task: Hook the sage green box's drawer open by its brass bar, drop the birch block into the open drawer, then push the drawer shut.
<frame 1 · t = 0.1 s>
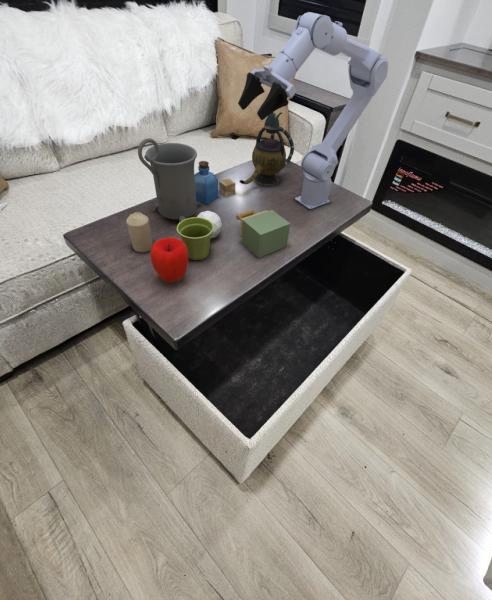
hand: (249, 111, 80), 32 cm above the table, tool tilted 50°, fingers open, 7 cm apart
apple: (173, 278, 85), on the table
teapot: (261, 183, 123), on the table
mug: (176, 216, 105), on the table
candle: (143, 246, 93), on the table
plant pot: (197, 254, 93), on the table
block: (227, 192, 116), on the table
perfume bottle: (205, 198, 113), on the table
drawer: (256, 225, 97), point 4 cm above the table, slide at 0.5 cm
geometric ball: (208, 236, 99), on the table
sage green box: (264, 244, 97), on the table
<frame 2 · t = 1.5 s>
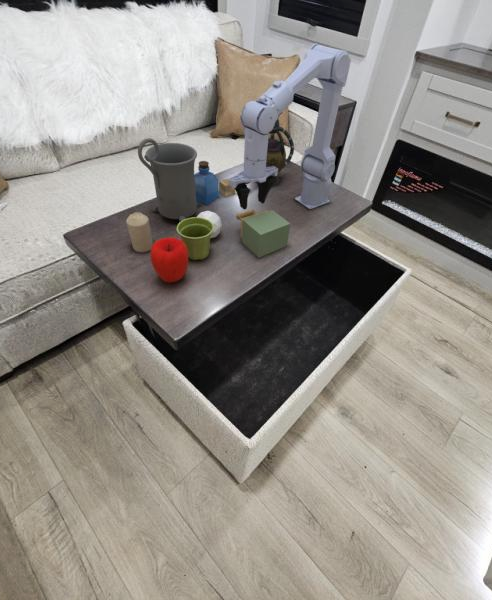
hand: (252, 204, 94), 9 cm above the table, tool pointing down, fingers open, 6 cm apart
nothing on the table moved.
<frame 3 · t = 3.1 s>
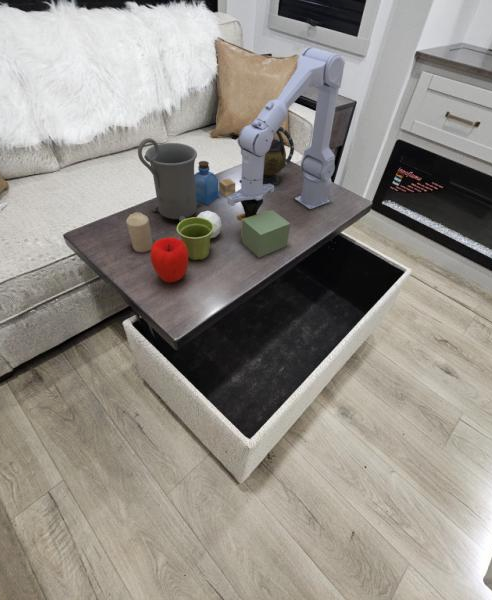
hand: (249, 220, 98), 4 cm above the table, tool pointing down, fingers closed, pressing on drawer
drawer: (256, 226, 97), point 4 cm above the table, slide at 0.2 cm, touching gripper
everything else where it was.
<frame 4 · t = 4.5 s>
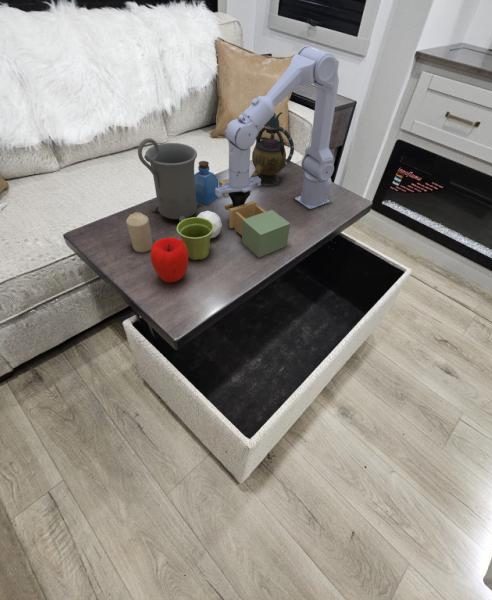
hand: (237, 211, 102), 3 cm above the table, tool pointing down, fingers closed, pressing on drawer
drawer: (244, 215, 100), point 4 cm above the table, slide at 6.5 cm, touching gripper
everything else where it was.
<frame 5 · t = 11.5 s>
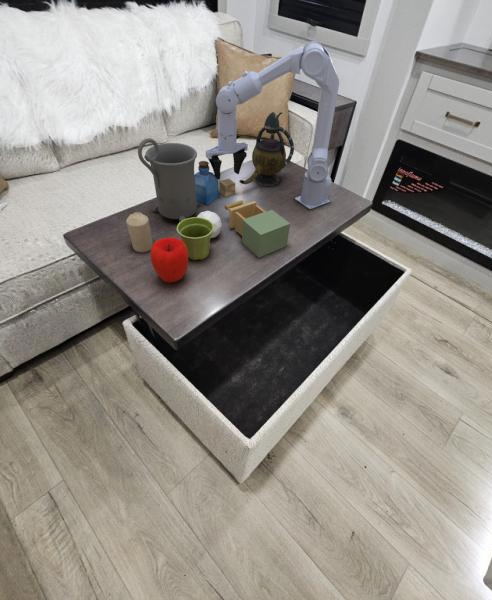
hand: (227, 175, 112), 6 cm above the table, tool pointing down, fingers open, 7 cm apart
perfume bottle: (205, 198, 113), on the table, touching gripper
drawer: (244, 215, 100), point 4 cm above the table, slide at 6.6 cm
everything else where it was.
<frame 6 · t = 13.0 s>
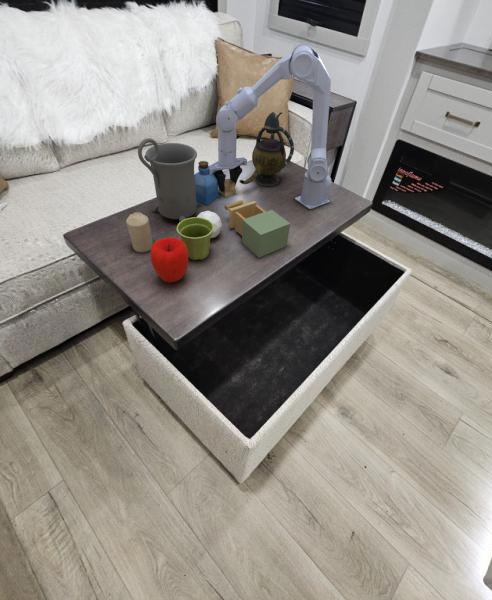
hand: (227, 189, 115), 1 cm above the table, tool pointing down, fingers closed on block, 4 cm apart
block: (227, 192, 116), on the table, touching gripper
perfume bottle: (205, 198, 113), on the table
everything else where it was.
when the fingers open (8 cm above the table, at t = 17.1 s): block drops 3 cm and tips over, resting on drawer.
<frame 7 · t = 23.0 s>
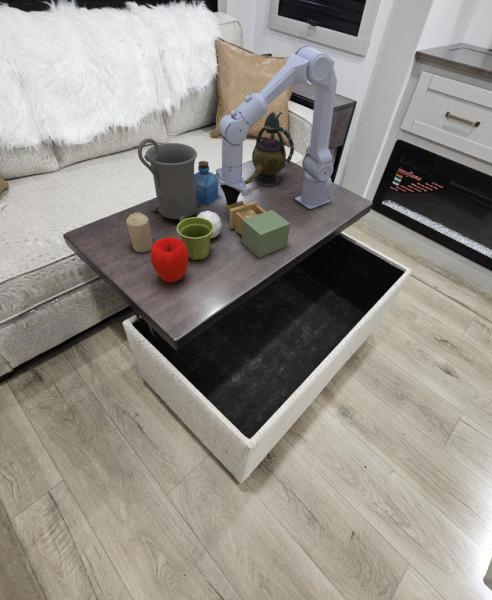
hand: (231, 206, 104), 3 cm above the table, tool pointing down, fingers closed
block: (252, 223, 98), point 4 cm above the table, tilted 90°, touching drawer
drawer: (244, 216, 100), point 4 cm above the table, slide at 6.3 cm, touching block, gripper
everything else where it was.
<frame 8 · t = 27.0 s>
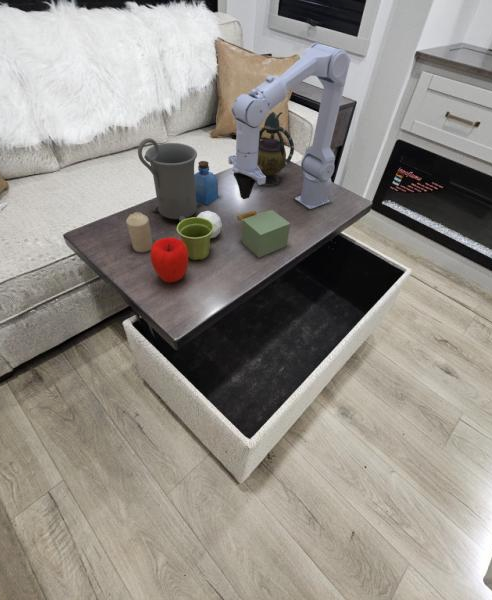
hand: (245, 197, 96), 10 cm above the table, tool pointing down, fingers closed
block: (265, 234, 94), point 4 cm above the table, tilted 90°, touching drawer
drawer: (257, 226, 97), point 4 cm above the table, slide at 0.0 cm, touching block, sage green box
everything else where it was.
at the end: drawer pulled out 6.6 cm at the most during the clip, back to where it started at the end; block inside the target area in the sage green box (0.2 cm from its centre), point 3.8 cm above the sage green box's base; drawer slide at 0.0 cm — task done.
